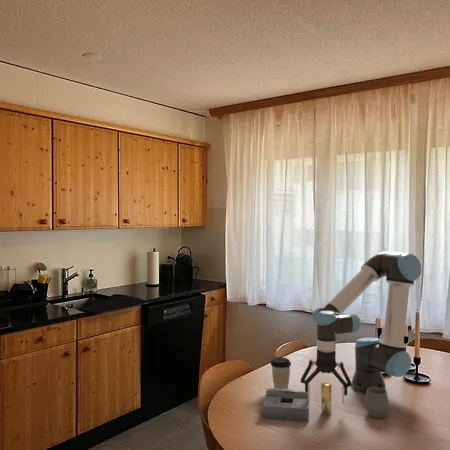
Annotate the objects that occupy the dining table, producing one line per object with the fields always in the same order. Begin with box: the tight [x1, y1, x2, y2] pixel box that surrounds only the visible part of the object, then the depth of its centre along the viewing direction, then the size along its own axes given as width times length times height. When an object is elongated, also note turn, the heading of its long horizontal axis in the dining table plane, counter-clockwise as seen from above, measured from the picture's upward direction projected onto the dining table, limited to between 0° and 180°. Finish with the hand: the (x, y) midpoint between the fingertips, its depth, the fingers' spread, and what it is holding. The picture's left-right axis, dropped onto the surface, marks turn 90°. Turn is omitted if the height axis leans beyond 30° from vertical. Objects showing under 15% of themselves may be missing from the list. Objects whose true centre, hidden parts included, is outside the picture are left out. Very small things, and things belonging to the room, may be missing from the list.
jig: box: [262, 387, 310, 423], centre depth 184 cm, size 18×14×7 cm
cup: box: [364, 387, 390, 419], centre depth 181 cm, size 10×9×10 cm
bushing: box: [320, 382, 332, 417], centre depth 183 cm, size 4×4×12 cm
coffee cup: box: [270, 357, 292, 389], centre depth 206 cm, size 9×9×15 cm
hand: (325, 401), depth 183 cm, fingers open, 13 cm apart
